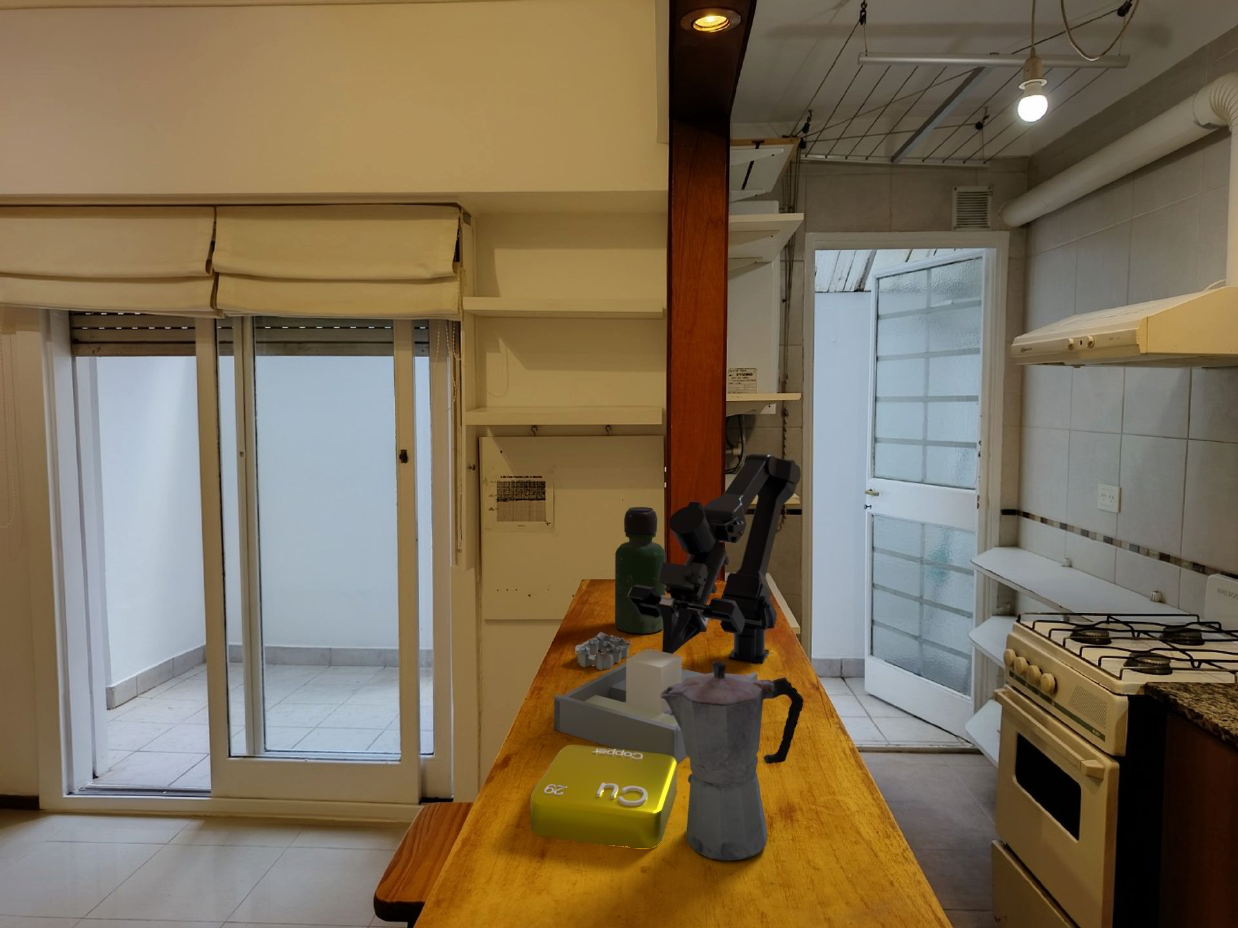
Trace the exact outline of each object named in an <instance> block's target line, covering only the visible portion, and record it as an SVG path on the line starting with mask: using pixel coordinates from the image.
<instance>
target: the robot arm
mask: <svg viewBox="0 0 1238 928" xmlns="http://www.w3.org/2000/svg"><path fill="white" fill-rule="evenodd" d="M743 463H744V464H743V465H742V467H741V468H740V470H739V471H738V473H737V474H736V476H735V477H734V478H733V480H732V481H731V483H730V484H729V485H728V487H727V488H726V490H725V491H724V493H723V494H722V495H721V496H719V497H717V498H714V499H711V500H710V501H709V502H707V503H706V504H705V505H704V506H703V504H702V502H701V501H692V500H691V501H690V500H689V503H688V505H687V506H684V507H681V508H679V509H677V511H675V512H674V514H672V515H671V516H670V519H669V520H668V521H669V523H668V525H669V526H668V527H669V528H670V530H671V533H673V535H674V537H675V539H676V541H677V543H678V544H679V546H680V548H681V549H682V550H683V551H684V553H686V554H688V556H687V558H686V560H685V562H684V564H678V563H671V562H662V563H661V567H660V571H659V575H658V580H657V582H658V583H662V584H664V585H665V593H666V594H667V595H665V596H664V595H661V597H660V595H659V594H658V592H657V591H656V589H655V588H654V587H648V586H642V585H635V586H633V587H632V588H631V589H630V591H629V593H628V596H627V598H628V599H629V601H630V602H631V604H632V605H633V607H634V608H635V609H636V611H637V612H638V614H640V615H642V616H645V617H651V618H657V617H659V616H661V617H662V618H663V629H662V645H661V646H662V650H661V652H666V653H671V654H675V652H677V651H678V650H680V648H681V647H683V646H684V645H685V644H686V643H687V642H689V641H690V640H692V639H693V638H695V637H696V636H697V635H699V634H701V633H706V632H707V631H708V628H707V623H708V621H710V620H716V621H720V626H721V629H722V630H723V632H724V633H725V632H726V633H729V634H733V649H732V650H731V651H730V653H729V654H728V656H727V657H728V659H730V660H738V661H746V662H753V663H759V664H760V663H761V664H762V663H764V662H765V660H766V659H767V658H768V655H769V654H770V650H769V649H766V648H765V647H766V631H767V630H769V629H771V630H772V629H775V627H776V623H777V619H778V618H777V616H778V612H777V611H776V608H775V606H774V605H773V602H772V601H771V594H772V593H771V592H772V591H771V589H770V585H769V582H768V579H767V572H768V568H769V563H770V560H771V559H770V558H771V554H772V550H773V545H774V542H775V537H776V535H777V534H776V533H777V530H778V524H779V520H780V518H781V517H780V516H781V513H782V508H783V506H784V505H785V504H786V503H787V502H788V501H789V500H790V499H791V498H792V497H793V496H794V494H795V491H796V489H797V485H798V484H799V483H800V480H801V468H800V466H799V465H798V464H796V462H795V460H794V459H783V458H782V459H781V458H777V457H776V456H774V455H772V454H766V453H764V454H763V453H750V454H747V455H746V456H745V458H744V462H743ZM756 497H757V501H756V505H755V507H754V508H755V509H754V512H753V516H752V521H751V523H750V529H749V532H748V536H747V540H746V541H747V542H746V544H745V548H744V552H743V557H742V560H741V565H740V568H738V569H737V571H735V573H734V572H730V573H729V574H728V575H727V577H726V582H725V587H724V589H723V592H722V594H721V598H719V597H714V598H711V599H710V596H711V594H716V592H717V590H718V588H717V586H716V582H717V579H718V577H719V574H720V571H721V569H722V566H723V565H724V566H728V565H729V564H730V563H729V557H728V554H727V552H728V551H727V549H726V548H725V546H724V545H723V543H731V544H737V543H738V542H739V541H740V540H741V538H742V536H743V535H744V533H745V530H746V527H747V520H746V516H745V515H746V513H747V511H748V509H749V508H750V506H752V503H753V501H754V500H755V499H756ZM722 542H723V543H722ZM668 594H669V595H668ZM709 599H710V602H709ZM708 602H709V604H708Z"/></svg>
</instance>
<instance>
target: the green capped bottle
mask: <svg viewBox="0 0 1238 928" xmlns="http://www.w3.org/2000/svg"><path fill="white" fill-rule="evenodd" d="M623 527H624V529H623V531H624V533H625V537H626V538H627V539H628V541H626V542H623V543H621V544H620V545H619V546H618V547H617V548H616V550H615V553H614V561H615V562H614V626H615V627H616V628H617V629H618V630H619V631H622V632H624V633H629V634H638V635H639V634H640V635H643V634H652V633H653V634H654V633H657V632H659V631H663V618H662V617H661V616H659V617H657V618H651V617H645V616H642V615H640V614H638V612H637V611H636V609H635V608H634V607H633V605H632V604H631V602H630V601H629V599H628V598H627V596H628V593H629V591H630V589H631V588H632V587H633V586H635V585H642V586H648V587H654V588H655V589H656V591H657V592H658V594H659V595H660V597H661V595H664V596H666V590H665V588H666V585H664V584H662V583H658V582H657V580H658V575H659V571H660V567H661V563H662V562H666V561H667V559H666V556H667V553H666V551H665V548H664V547H663V546H661V544H659V543H657V542H654V541H653V539H654V538H656V536H657V533H658V515H657V513H656V511H655V510H654V509H653V508H652V507H646V506H645V507H644V506H638V507H636V506H635V507H629V508H628V510H626V511H625V514H624V518H623ZM666 563H667V562H666Z"/></svg>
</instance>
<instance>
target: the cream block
mask: <svg viewBox="0 0 1238 928" xmlns="http://www.w3.org/2000/svg"><path fill="white" fill-rule="evenodd" d="M682 657H683V655H679V654H675V653H673V654H671V653H666V652H662V650H661V651H660V650H657V649H652V648H646V649H644V650H642V651H640V652H638V653H636V654H634V655H632V656H629V657H627V658H626V662H625V663H626V705H627V706H631V707H635V708H638V709H642V710H646V711H649V712H653V713H657V714H662V713H664V712H665V711H667V710H668V709H670V707H669V705H668V703H667V702H666V700H665V699H663V698H661V697H660V695H661V693H662V692H663V691H664V690H666V689H667V688H668V687H669V686H672V685H676V684H679V683H681V671H682V669H683V668H682V662H683V661H682V660H683V659H682Z"/></svg>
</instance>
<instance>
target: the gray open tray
mask: <svg viewBox="0 0 1238 928" xmlns="http://www.w3.org/2000/svg"><path fill="white" fill-rule="evenodd" d="M703 674H704V673H702V672H698V671H697V672H696V671H693V670H689V669H683V668H682V671H681V683H682V682H683V681H684V680H685V678H688V677H693V676H698V675H703ZM758 675H759V674H758V673H755V672H751V673H749V674H747V675H746V676H747V677H749V678H751V679H753V680H755V681H758ZM553 697H554V698H553V700H554V701H553V707H554V708H553V709H554V710H553V714H554V715H553V722H554V724H553V725H554V726H553V727H554V730H555V731H557V732H559V733H560V732H561V733H563V734H565V735H570V736H573V737H576V738H579V739H583V740H586V741H589V742H592V743H595V744H600V745H602V746H606V747H607V748H613V749H622V750H631V751H640V752H649V753H658V754H665V755H670V756H672V757H674V758H675V759H676V761H677V765H678V764H680V763H681V762H682V761H684V760H685V759H686V758H687V757H688V756H687V754H686V751H685V745H684V740H683V734H682V731H681V728H680V727H679V725H678V723H677V721H676V719H675V717H674V715H673V713H672V711H671V709H668V710H667V711H665V712H664V713H662V714H657V713H653V712H649V711H646V710H642V709H638V708H635V707H631V706H627V705H626V662H624V663H622V664H620V665H619V666H617V667H615V668H613V669H611V670H609V671H607V672H605V673H603V674H601V675H599V676H597V677H596V678H594V679H591V680H590V681H588V682H586V683H584V684H582V685H580V686H578V687H576V688H574V689H572V690H571V691H569V692H567V693H564V694H560V693H559V694H556V695H554V696H553Z"/></svg>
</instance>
